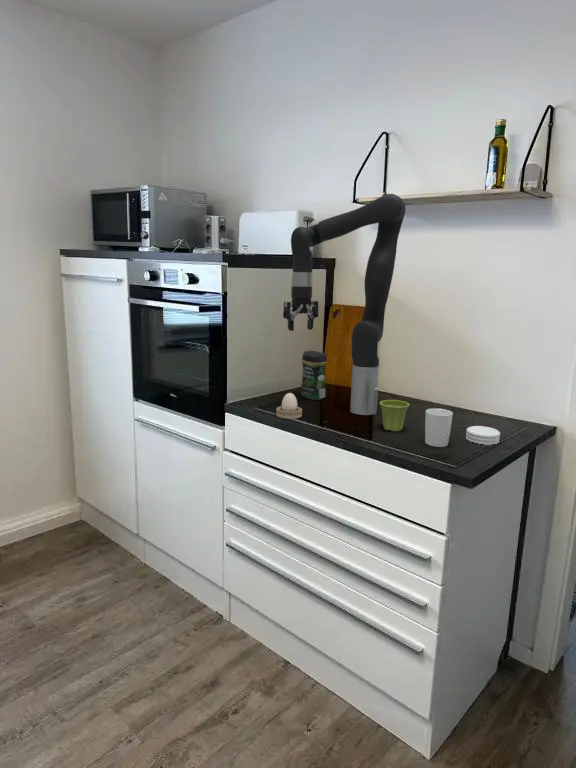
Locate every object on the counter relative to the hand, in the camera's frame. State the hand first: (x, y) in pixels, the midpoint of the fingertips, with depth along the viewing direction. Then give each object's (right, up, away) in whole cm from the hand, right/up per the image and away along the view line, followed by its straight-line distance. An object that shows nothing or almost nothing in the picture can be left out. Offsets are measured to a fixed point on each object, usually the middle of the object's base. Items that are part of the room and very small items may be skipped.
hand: (300, 330), depth 206 cm
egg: (-4, -31, -8) cm, 32 cm away
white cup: (+40, -38, -35) cm, 65 cm away
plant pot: (+30, -35, -21) cm, 50 cm away
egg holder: (-4, -31, -8) cm, 32 cm away
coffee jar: (+5, -25, +17) cm, 31 cm away
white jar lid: (+56, -38, -30) cm, 74 cm away
